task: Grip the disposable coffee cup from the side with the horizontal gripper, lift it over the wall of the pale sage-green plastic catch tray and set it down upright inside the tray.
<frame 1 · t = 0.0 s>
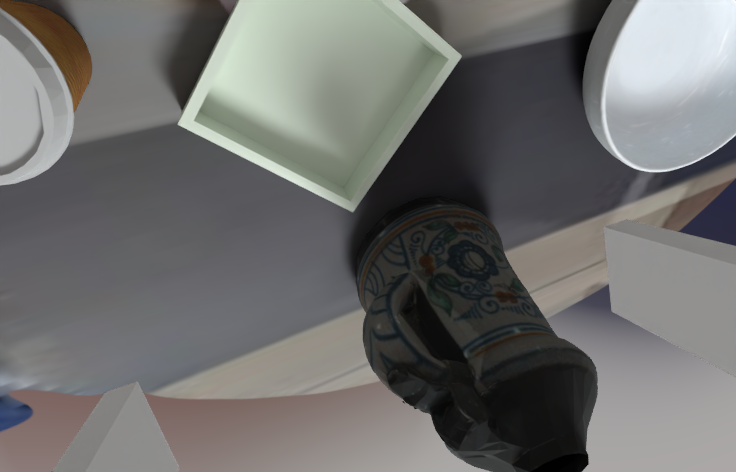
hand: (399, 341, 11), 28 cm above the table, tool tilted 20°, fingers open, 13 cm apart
serving bowl: (644, 46, 41), on the table
catch tray: (318, 78, 34), on the table
disposable coffee cup: (39, 54, 28), on the table
beer stein: (408, 258, 47), on the table
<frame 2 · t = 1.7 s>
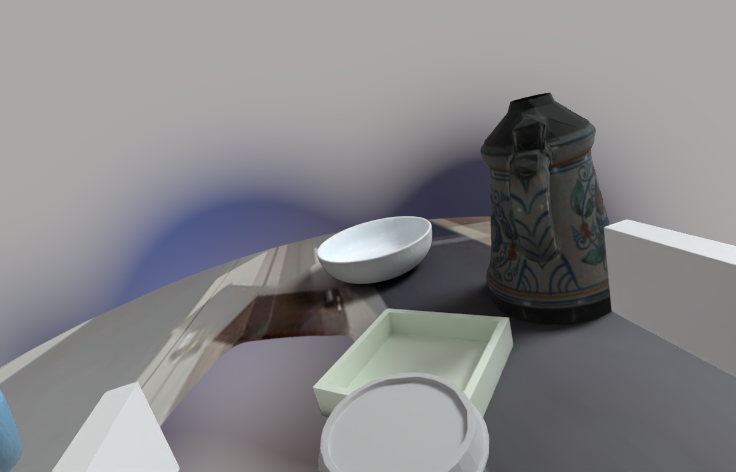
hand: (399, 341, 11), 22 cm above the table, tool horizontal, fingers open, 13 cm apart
serving bowl: (382, 271, 76), on the table
catch tray: (421, 378, 44), on the table
beer stein: (560, 298, 53), on the table
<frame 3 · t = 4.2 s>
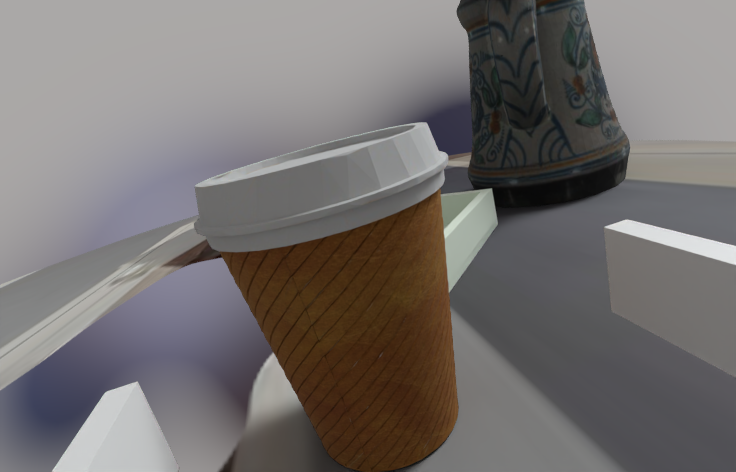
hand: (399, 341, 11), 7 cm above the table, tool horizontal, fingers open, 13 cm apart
catch tray: (388, 260, 37), on the table
disposable coffee cup: (389, 417, 19), on the table
beer stein: (552, 189, 46), on the table
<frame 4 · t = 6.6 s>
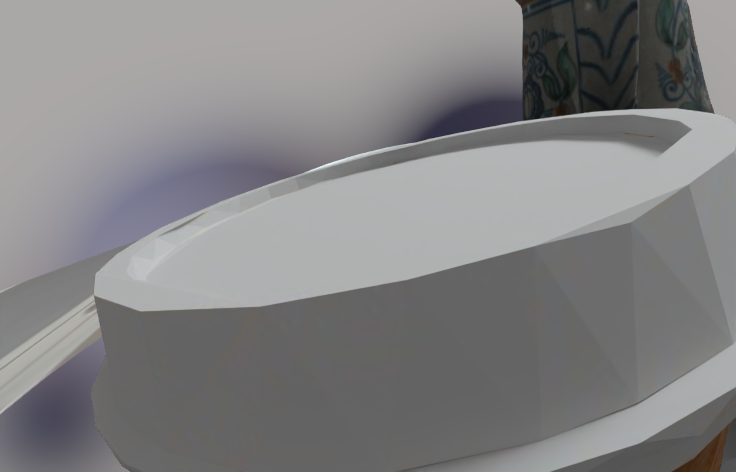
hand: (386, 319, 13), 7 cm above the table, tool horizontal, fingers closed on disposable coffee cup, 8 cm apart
beer stein: (623, 201, 37), on the table
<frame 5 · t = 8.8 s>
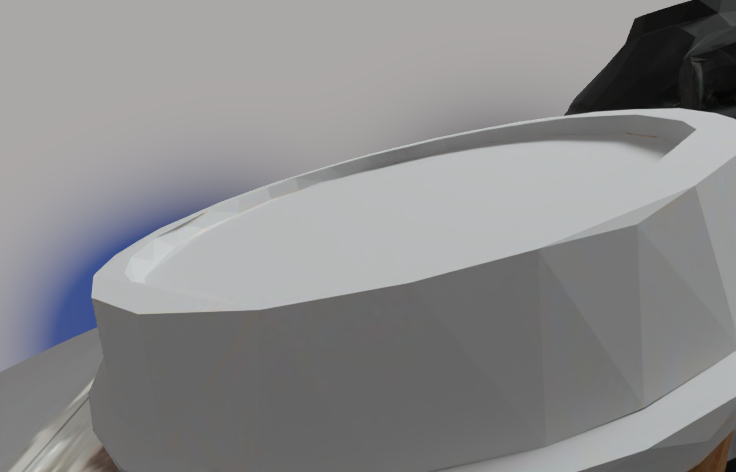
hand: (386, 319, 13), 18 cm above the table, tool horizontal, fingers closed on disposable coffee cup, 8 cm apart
beer stein: (710, 405, 28), on the table
when the fingers open (9 cm above the table, at t = 11.4 s): disposable coffee cup moves 3 cm, resting on catch tray.
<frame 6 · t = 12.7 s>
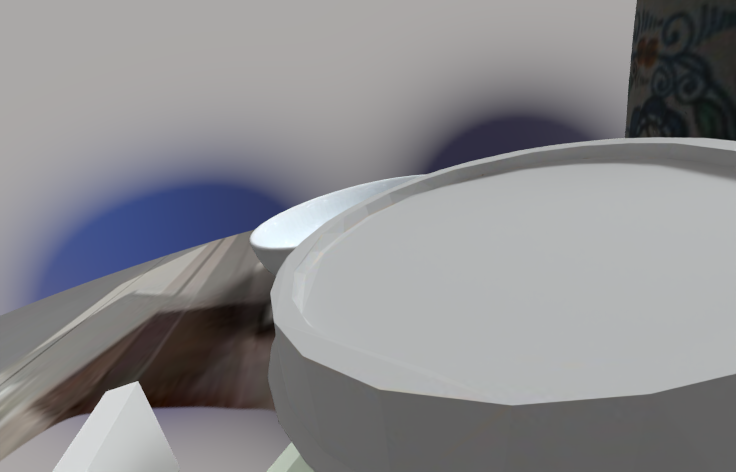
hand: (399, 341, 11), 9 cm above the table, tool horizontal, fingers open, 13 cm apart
serving bowl: (368, 268, 44), on the table
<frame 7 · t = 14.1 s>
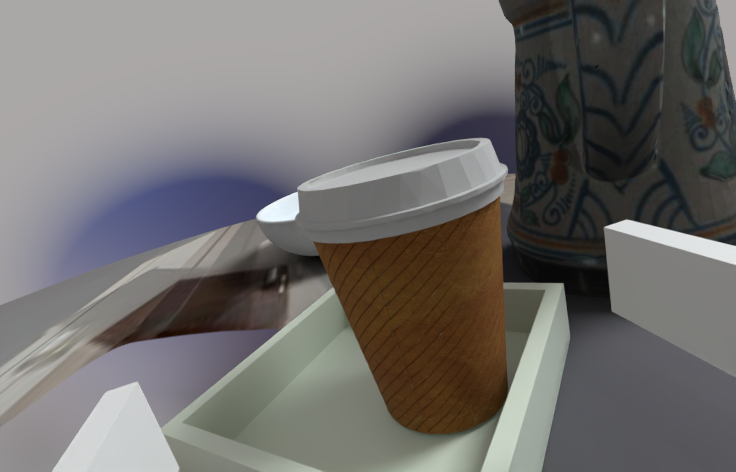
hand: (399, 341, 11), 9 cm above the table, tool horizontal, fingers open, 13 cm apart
serving bowl: (351, 242, 54), on the table
catch tray: (392, 406, 22), on the table
disposable coffee cup: (445, 392, 22), resting on catch tray
beer stein: (636, 259, 31), on the table
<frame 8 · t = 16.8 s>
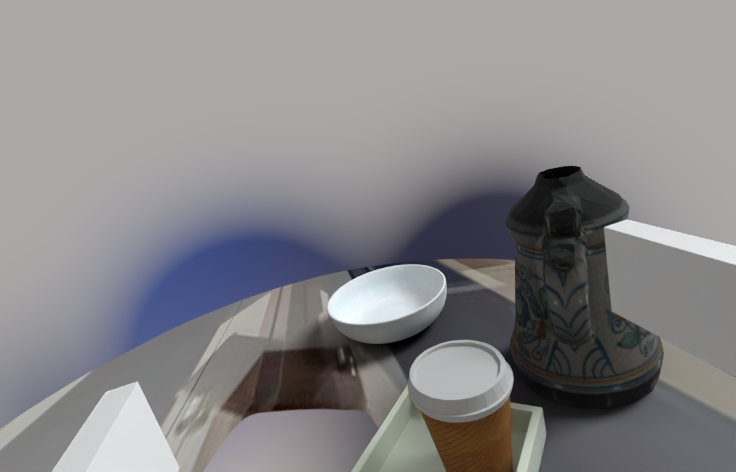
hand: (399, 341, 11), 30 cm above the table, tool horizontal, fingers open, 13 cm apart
serving bowl: (394, 325, 73), on the table
disposable coffee cup: (479, 470, 41), resting on catch tray
beer stein: (589, 373, 50), on the table
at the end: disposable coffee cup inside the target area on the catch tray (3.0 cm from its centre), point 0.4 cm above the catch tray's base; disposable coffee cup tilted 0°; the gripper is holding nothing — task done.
